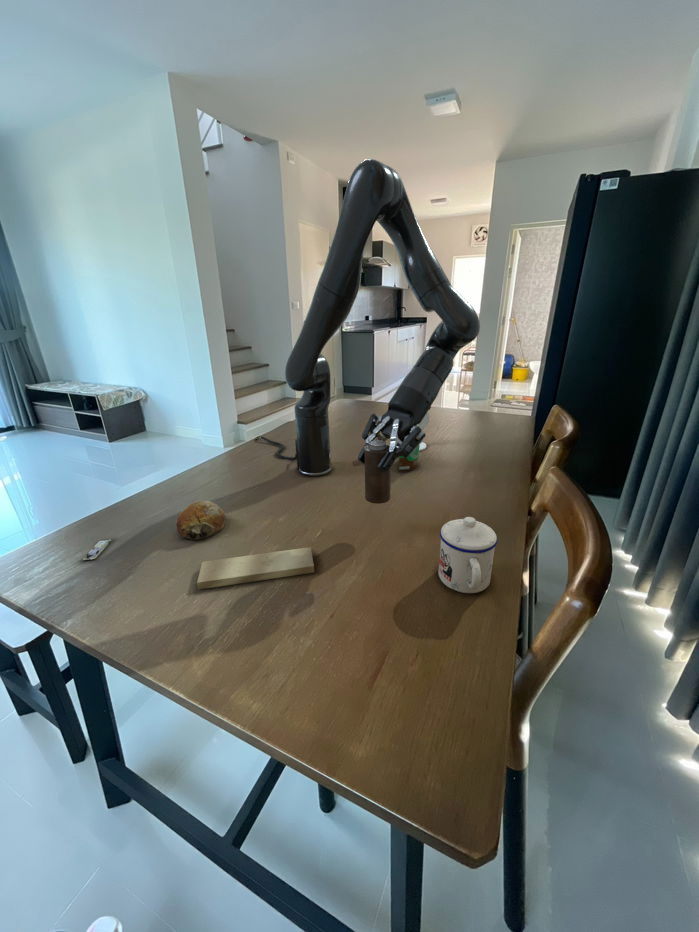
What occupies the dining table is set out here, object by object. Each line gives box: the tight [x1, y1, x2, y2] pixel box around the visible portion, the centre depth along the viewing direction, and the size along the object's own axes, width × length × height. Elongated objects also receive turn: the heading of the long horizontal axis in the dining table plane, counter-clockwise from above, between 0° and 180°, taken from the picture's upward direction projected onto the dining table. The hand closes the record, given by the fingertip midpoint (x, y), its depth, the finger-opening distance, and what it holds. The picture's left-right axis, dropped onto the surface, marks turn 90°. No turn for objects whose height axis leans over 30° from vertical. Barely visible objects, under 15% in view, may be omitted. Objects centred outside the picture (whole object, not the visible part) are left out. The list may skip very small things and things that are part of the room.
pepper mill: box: [364, 439, 392, 505], centre depth 76 cm, size 5×5×12 cm
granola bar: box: [82, 539, 112, 561], centre depth 77 cm, size 7×2×1 cm, turn 5°
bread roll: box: [176, 499, 226, 541], centre depth 83 cm, size 10×10×8 cm
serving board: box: [196, 546, 315, 590], centre depth 70 cm, size 20×6×2 cm, turn 101°
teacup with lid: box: [438, 516, 498, 594], centre depth 63 cm, size 12×9×12 cm
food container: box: [398, 437, 423, 473], centre depth 112 cm, size 12×6×10 cm, turn 168°
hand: (371, 465), depth 75 cm, fingers closed on pepper mill, 5 cm apart
